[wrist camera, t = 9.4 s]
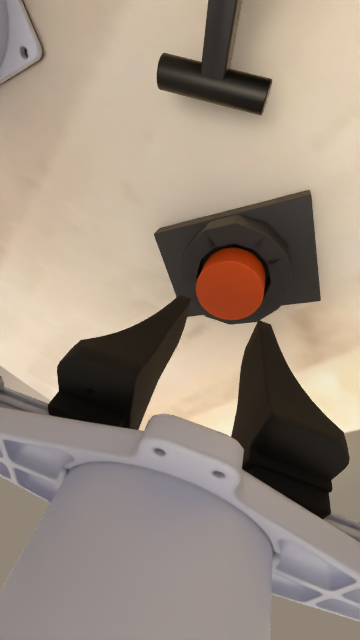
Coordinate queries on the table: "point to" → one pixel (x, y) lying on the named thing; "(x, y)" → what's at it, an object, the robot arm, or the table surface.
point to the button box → (256, 237)
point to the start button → (231, 284)
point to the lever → (215, 66)
